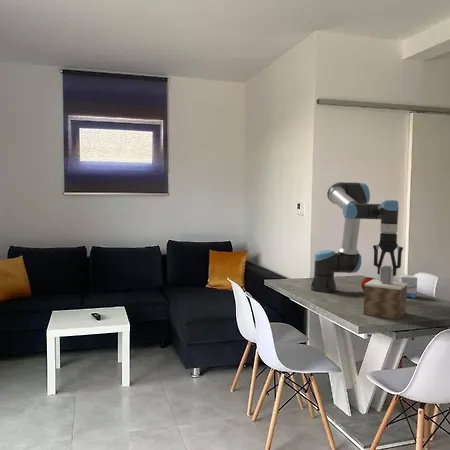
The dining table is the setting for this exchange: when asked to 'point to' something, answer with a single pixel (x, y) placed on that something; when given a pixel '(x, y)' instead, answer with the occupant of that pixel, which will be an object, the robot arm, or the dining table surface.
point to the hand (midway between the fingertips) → (386, 281)
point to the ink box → (410, 284)
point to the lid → (386, 280)
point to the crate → (385, 302)
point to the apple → (365, 282)
